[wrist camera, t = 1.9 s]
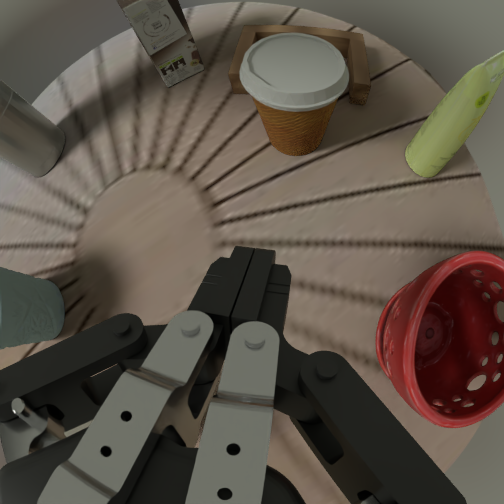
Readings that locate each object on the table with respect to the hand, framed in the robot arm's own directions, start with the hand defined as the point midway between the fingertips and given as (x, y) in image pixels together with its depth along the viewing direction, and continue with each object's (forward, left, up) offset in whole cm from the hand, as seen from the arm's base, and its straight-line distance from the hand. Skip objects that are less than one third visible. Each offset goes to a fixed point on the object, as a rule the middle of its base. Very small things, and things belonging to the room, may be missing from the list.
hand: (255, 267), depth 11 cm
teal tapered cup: (-22, -23, -18) cm, 36 cm away
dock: (-15, +26, -18) cm, 34 cm away
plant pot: (+15, +5, -18) cm, 24 cm away
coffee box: (-32, +17, -18) cm, 41 cm away
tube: (+5, +22, -18) cm, 29 cm away
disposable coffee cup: (-9, +15, -18) cm, 25 cm away
